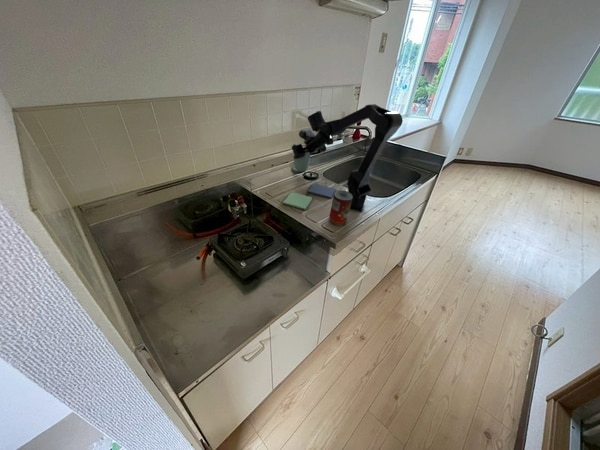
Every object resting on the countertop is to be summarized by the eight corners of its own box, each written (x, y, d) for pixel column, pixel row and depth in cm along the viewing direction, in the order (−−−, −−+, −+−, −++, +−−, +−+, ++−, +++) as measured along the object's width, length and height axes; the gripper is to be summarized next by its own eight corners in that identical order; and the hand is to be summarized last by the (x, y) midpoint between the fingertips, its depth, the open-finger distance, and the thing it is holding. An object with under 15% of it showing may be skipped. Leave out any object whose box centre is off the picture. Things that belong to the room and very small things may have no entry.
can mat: (335, 190, 115) (335, 188, 115) (330, 198, 108) (331, 197, 108) (313, 184, 117) (313, 183, 117) (308, 192, 111) (308, 191, 110)
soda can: (340, 228, 91) (347, 200, 84) (325, 220, 94) (330, 192, 87) (349, 220, 95) (356, 193, 88) (334, 213, 99) (340, 186, 91)
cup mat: (312, 199, 106) (312, 197, 106) (305, 210, 99) (305, 208, 98) (291, 193, 108) (291, 191, 108) (282, 203, 101) (282, 202, 100)
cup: (290, 170, 121) (292, 151, 115) (296, 165, 126) (298, 146, 121) (305, 174, 119) (307, 154, 113) (310, 169, 125) (312, 150, 119)
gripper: (325, 121, 112) (307, 139, 125) (295, 126, 101) (278, 144, 114) (335, 143, 112) (315, 158, 125) (306, 150, 101) (288, 165, 114)
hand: (300, 156), depth 119 cm, fingers closed on cup, 8 cm apart
